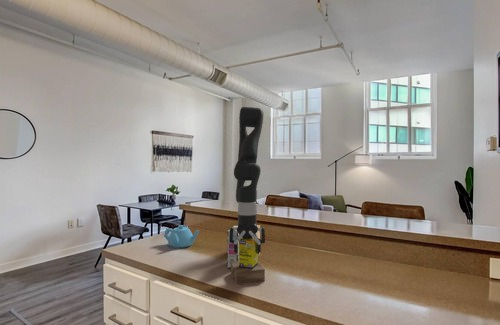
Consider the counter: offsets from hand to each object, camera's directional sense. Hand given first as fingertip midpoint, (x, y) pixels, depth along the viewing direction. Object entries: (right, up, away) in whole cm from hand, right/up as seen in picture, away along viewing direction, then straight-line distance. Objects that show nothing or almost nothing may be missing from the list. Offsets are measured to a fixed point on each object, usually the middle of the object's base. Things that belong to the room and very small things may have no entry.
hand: (247, 253), depth 117 cm
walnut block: (0, -10, 0) cm, 10 cm away
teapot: (-37, -10, +45) cm, 59 cm away
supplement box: (0, -5, 0) cm, 5 cm away
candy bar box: (-5, -10, +14) cm, 18 cm away
